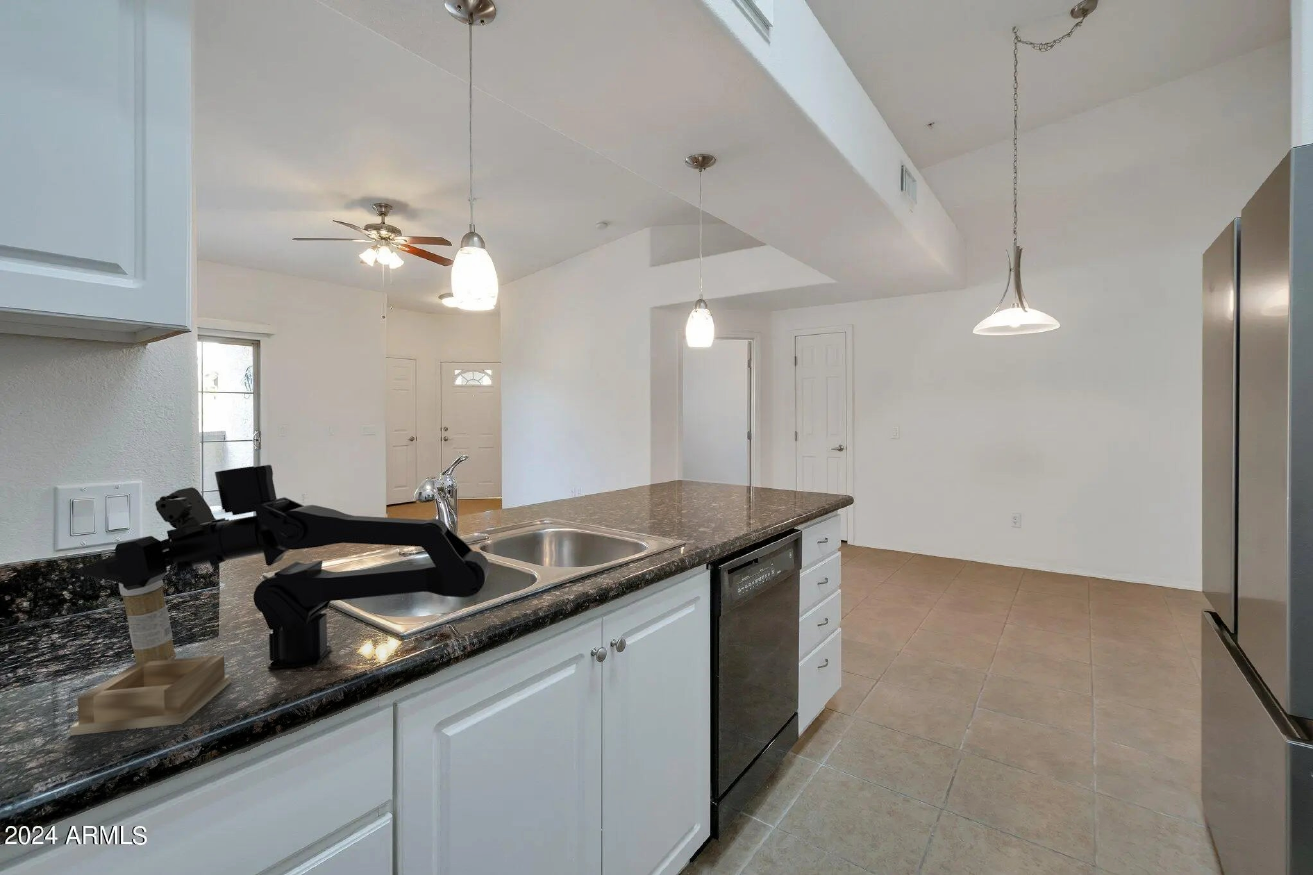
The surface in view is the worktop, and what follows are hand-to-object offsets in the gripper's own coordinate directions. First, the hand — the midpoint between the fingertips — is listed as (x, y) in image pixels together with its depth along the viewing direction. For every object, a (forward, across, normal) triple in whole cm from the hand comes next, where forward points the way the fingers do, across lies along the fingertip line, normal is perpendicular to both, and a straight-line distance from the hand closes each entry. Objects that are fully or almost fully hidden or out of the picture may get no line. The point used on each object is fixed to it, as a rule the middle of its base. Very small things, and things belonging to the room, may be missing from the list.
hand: (109, 562), depth 79 cm
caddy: (-10, +12, +18) cm, 24 cm away
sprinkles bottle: (-2, -2, +16) cm, 17 cm away
